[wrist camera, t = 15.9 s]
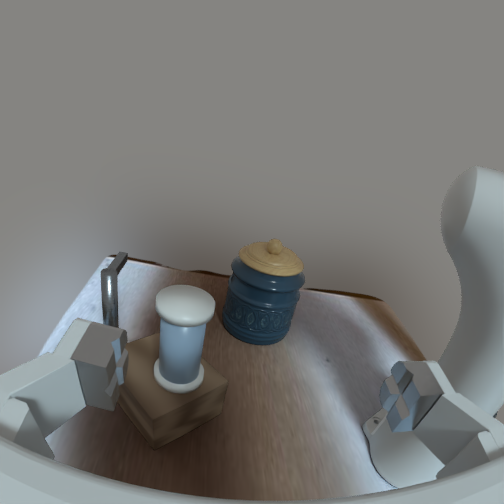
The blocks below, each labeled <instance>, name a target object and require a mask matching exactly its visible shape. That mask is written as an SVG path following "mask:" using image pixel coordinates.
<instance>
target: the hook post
mask: <svg viewBox="0 0 504 504" xmlns="http://www.w3.org/2000/svg"><path fill="white" fill-rule="evenodd" d="M127 256H128V255H127V253H124V252H119V253H118V255H117V256H116V257H115V259H114V260H113V261H112V263H111V264H110V265H109V266H108V268H105V269H103V270H102V271H101V291H102V309H103V324H104V325H108V326H112V327H116V328H119V325H118V292H117V275H118V274H119V272H120V271H121V269H122V268H123V266H124V265H125V263H126V262H127Z"/></svg>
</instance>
